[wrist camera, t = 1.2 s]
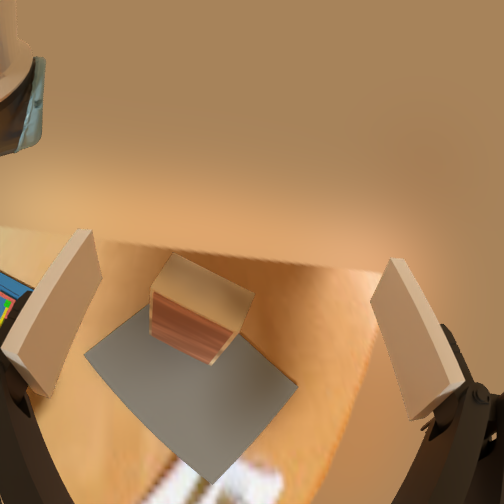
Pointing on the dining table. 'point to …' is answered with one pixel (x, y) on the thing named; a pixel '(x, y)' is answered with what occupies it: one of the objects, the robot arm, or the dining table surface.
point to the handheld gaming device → (9, 295)
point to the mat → (192, 393)
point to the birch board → (196, 309)
